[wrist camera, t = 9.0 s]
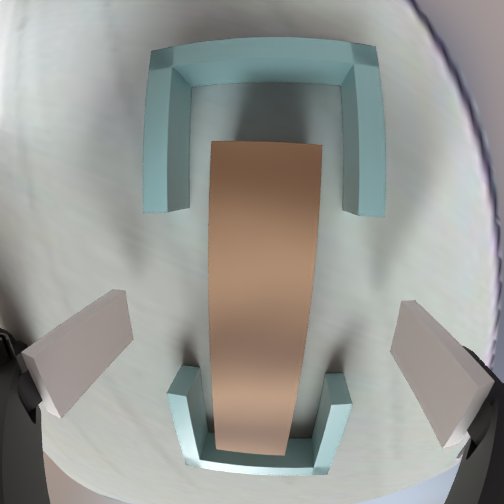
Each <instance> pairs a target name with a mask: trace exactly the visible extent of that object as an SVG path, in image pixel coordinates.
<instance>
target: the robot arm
mask: <svg viewBox="0 0 504 504" xmlns="http://www.w3.org/2000/svg"><path fill="white" fill-rule="evenodd" d="M132 340H133V334H132V329H131V323H130V317H129V312H128V305H127V299H126V292H125V291H124V290H115V289H113V290H111V291H110V292H108V293H107V294H105V295H104V296H102V297H100V298H99V299H97V300H96V301H94V302H93V303H91V304H90V305H88V306H87V307H85V308H84V309H82V310H81V311H79V312H78V313H76V314H75V315H73V316H72V317H71V318H69V319H68V320H66V321H65V322H63V323H62V324H60V325H59V326H57V327H56V328H55V329H53V330H52V331H50V332H49V333H47V334H46V335H45V336H43V337H42V338H40V339H39V340H37V341H36V342H35V343H33V344H32V345H31V346H29V347H28V348H26V349H25V350H24V351H22V352H21V353H20V354H18V355H17V356H16V355H15V353H14V350H13V347H12V344H11V342H10V339H9V336H8V335H7V334H5V333H0V504H50V501H49V495H48V490H47V484H46V477H45V469H44V460H43V449H42V432H41V410H40V408H39V406H38V404H39V403H40V402H41V401H43V403H44V405H45V407H46V409H47V411H48V412H49V413H51V414H53V415H55V416H57V417H59V418H61V419H62V418H63V417H64V415H65V414H66V413H67V412H68V411H69V410H70V409H71V407H72V406H73V405H74V404H75V403H76V402H77V401H78V400H79V398H80V397H81V396H82V395H83V394H84V393H85V392H86V391H87V389H88V388H89V387H90V386H91V385H92V384H93V383H94V382H95V381H96V379H97V378H98V377H99V376H100V375H101V374H102V373H103V372H104V371H105V370H106V368H107V367H108V366H109V365H110V364H111V363H112V362H113V361H114V360H115V359H116V358H117V357H118V355H119V354H120V353H121V352H122V351H123V350H124V349H125V348H126V347H127V346H128V345H129V344H130V343H131V341H132ZM390 352H391V354H392V356H393V357H394V359H395V361H396V362H397V364H398V366H399V368H400V369H401V371H402V373H403V374H404V376H405V378H406V380H407V382H408V383H409V385H410V387H411V389H412V391H413V392H414V394H415V396H416V398H417V400H418V401H419V403H420V405H421V407H422V409H423V411H424V413H425V415H426V417H427V419H428V420H429V422H430V424H431V426H432V428H433V430H434V432H435V434H436V436H437V438H438V440H439V442H440V444H441V447H442V449H443V448H446V447H449V446H452V445H455V444H457V443H459V442H460V441H461V439H462V438H463V436H464V435H465V433H466V432H467V431H468V433H469V435H470V436H471V437H470V439H469V440H468V442H467V443H466V445H465V446H464V448H463V449H462V450H461V452H460V453H459V454H458V456H457V458H460V456H461V455H462V454H463V453H464V454H463V457H462V460H461V463H460V466H459V469H458V472H457V474H456V477H455V480H454V482H453V485H452V487H451V490H450V492H449V495H448V497H447V499H446V501H445V503H444V504H504V383H502V382H501V381H500V380H499V379H498V378H497V377H496V375H495V374H494V373H493V372H492V371H491V370H490V369H489V368H488V367H487V366H485V364H484V362H483V361H482V360H479V359H480V358H479V357H478V356H477V355H476V354H475V353H474V352H473V351H471V350H469V349H468V348H466V347H464V346H462V345H461V344H460V343H459V342H458V341H457V340H456V339H455V338H454V337H453V336H452V335H451V334H450V333H449V332H448V331H447V330H446V329H445V328H444V327H443V326H442V325H440V324H439V323H438V322H437V321H436V320H435V319H434V318H433V317H432V316H431V315H430V314H429V313H428V312H427V311H426V310H425V309H424V308H423V307H422V306H421V305H419V304H418V303H417V302H416V301H415V300H411V301H401V306H400V311H399V316H398V320H397V325H396V329H395V334H394V338H393V342H392V346H391V350H390Z"/></svg>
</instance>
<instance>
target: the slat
mask: <svg viewBox="0 0 504 504" xmlns="http://www.w3.org/2000/svg"><path fill="white" fill-rule="evenodd" d="M321 165H322V145H315V144H303V143H287V142H264V141H211V162H210V190H209V247H208V274H209V331H210V359H211V381H212V399H213V414H214V428H215V441H216V449H219V450H226V451H233V452H242V453H252V454H264V455H283V456H285V451H286V447H287V442H288V438H289V433H290V428H291V423H292V418H293V413H294V408H295V403H296V397H297V392H298V386H299V380H300V375H301V368H302V362H303V356H304V349H305V342H306V336H307V328H308V321H309V313H310V305H311V297H312V288H313V278H314V269H315V258H316V247H317V235H318V221H319V206H320V188H321Z"/></svg>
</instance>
